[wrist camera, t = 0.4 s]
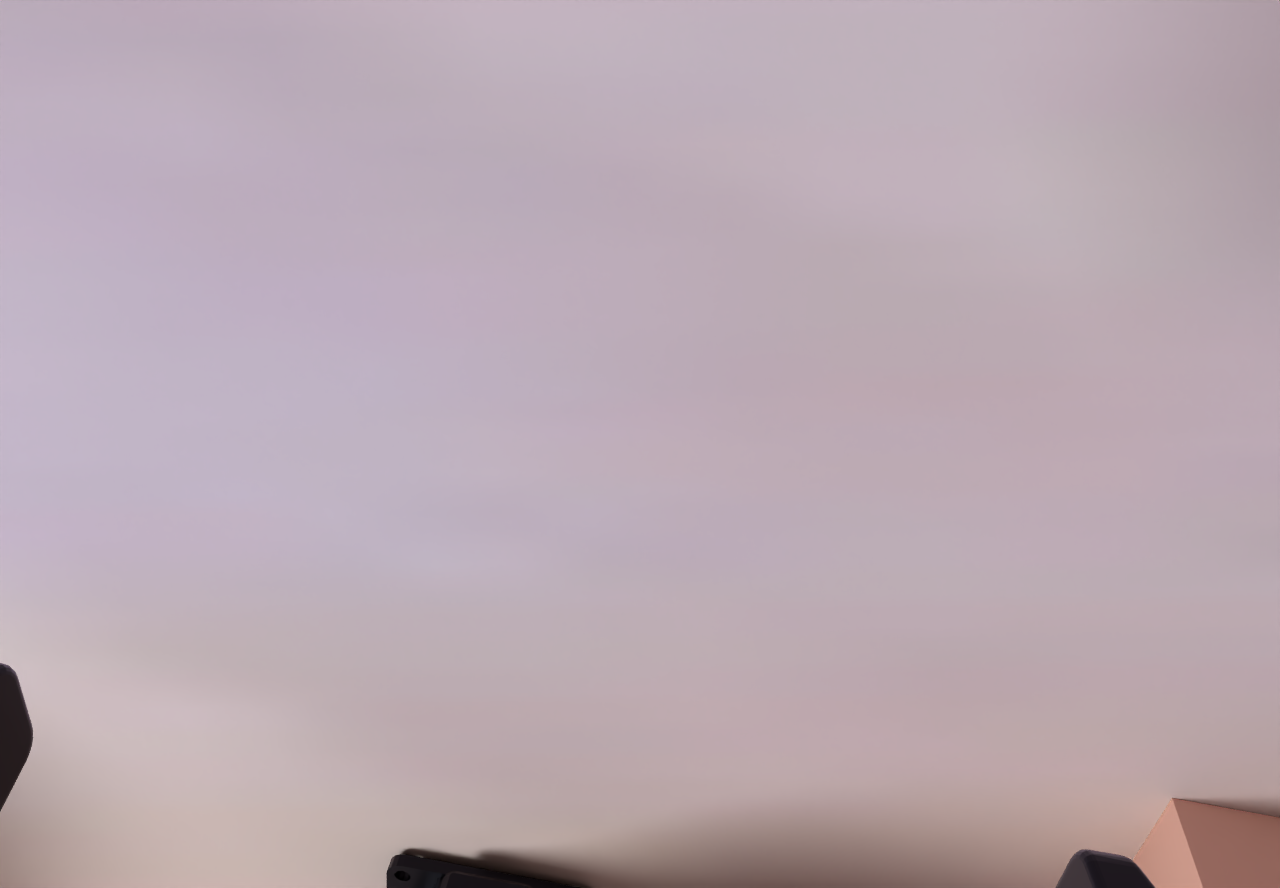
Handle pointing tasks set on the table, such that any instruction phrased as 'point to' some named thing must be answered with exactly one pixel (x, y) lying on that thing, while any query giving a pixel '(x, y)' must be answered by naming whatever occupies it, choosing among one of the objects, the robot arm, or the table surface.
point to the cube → (1211, 848)
